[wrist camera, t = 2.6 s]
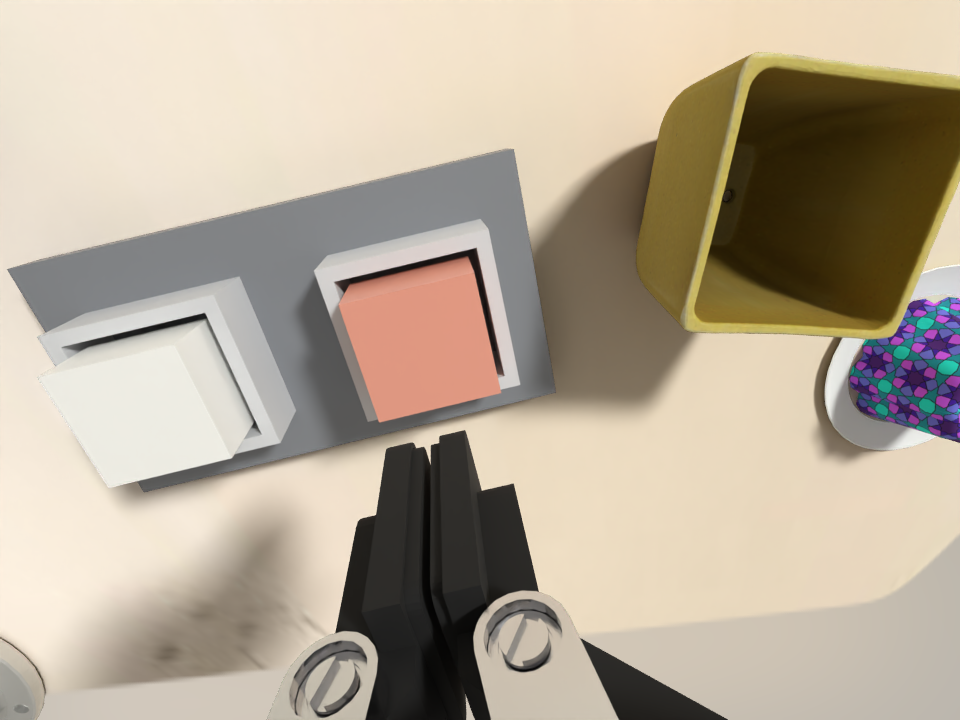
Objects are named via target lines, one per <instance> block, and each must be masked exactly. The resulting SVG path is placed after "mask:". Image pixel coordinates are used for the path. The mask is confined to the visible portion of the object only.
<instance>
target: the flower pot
mask: <svg viewBox="0 0 960 720" xmlns="http://www.w3.org/2000/svg"><path fill="white" fill-rule="evenodd" d="M959 181H960V76H956V75H948V74H939V73H930V72H921V71H912V70H903V69H896V68H889V67H881V66H869V65H862V64H854V63H847V62H840V61H832V60H823V59H818V58H812V57H805V56H798V55H790V54H782V53H766V52H758V53H754V54H751V55H749V56H747V57H745V58H743V59H741V60H739V61H737V62H735V63H733V64H731V65H729V66H727V67H725V68H724V69H721V70H719V71H717V72H716V73H714V74H712V75H710V76H708V77H706V78H704V79H702V80H700V81H698V82H696V83H695V84H693V85H691V86H690V87H688V88H686V89H685V90H684V91H683V92H681V93H680V94H679V95H678V96H677V97H676V99H675V100H674V101H673V102H672V104H671V105H670V107H669V109H668V110H667V112H666V114H665V116H664V119H663V121H662V124H661V127H660V131H659V135H658V140H657V146H656V151H655V157H654V162H653V167H652V172H651V178H650V183H649V188H648V193H647V198H646V203H645V208H644V213H643V218H642V223H641V228H640V233H639V238H638V242H637V250H636V266H637V272H638V275H639V277H640V280H641V281H642V283H643V285H644V286H645V287H646V289H647V290H648V291H649V292H650V293H651V294H652V295H653V296H654V298H655V299H656V300H657V301H658V302H659V303H660V304H661V305H662V306H663V307H664V308H665V309H666V310H667V311H668V312H669V313H670V315H671V316H672V317H673V318H674V319H675V320H676V321H677V322H678V323H679V324H680V325H681V326H682V328H683V329H685V330H686V331H688V332H694V333H749V334H793V335H809V336H826V337H843V338H858V339H882V338H888V337H892V336H893V335H894V334H895V333H896V331H897V329H898V327H899V325H900V323H901V321H902V319H903V317H904V315H905V313H906V310H907V307H908V305H909V302H910V300H911V297H912V295H913V292H914V290H915V287H916V285H917V283H918V281H919V278H920V276H921V273H922V270H923V268H924V265H925V263H926V260H927V258H928V255H929V253H930V250H931V248H932V246H933V244H934V241H935V239H936V237H937V234H938V232H939V229H940V227H941V224H942V222H943V219H944V217H945V214H946V212H947V210H948V207H949V205H950V203H951V201H952V199H953V196H954V194H955V191H956V189H957V186H958V184H959ZM727 190H730V191H731V192H732V198H731V200H730V201H728V202H725V201H724V200H723V198H722V197H723V194H724V192H725V191H727Z"/></svg>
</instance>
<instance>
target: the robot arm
mask: <svg viewBox="0 0 960 720" xmlns="http://www.w3.org/2000/svg"><path fill="white" fill-rule="evenodd" d="M465 694H466V697H467V699H468V702H469V705H470V708H471V711H472V713H473V716H474V718H475V720H728V719H726V718H724V717H722V716H720V715H718V714H716V713H715V712H713V711H711V710H709V709H708V708H706V707H704V706H702V705H700V704H699V703H697V702H695V701H693V700H691V699H690V698H687V697H686V696H684V695H682V694H680V693H678V692H677V691H675V690H673V689H671V688H670V687H668V686H666V685H664V684H662V683H661V682H659V681H657V680H655V679H653V678H651V677H650V676H648V675H646V674H644V673H642V672H641V671H639V670H637V669H635V668H633V667H632V666H629V665H628V664H626V663H624V662H622V661H621V660H619V659H617V658H615V657H614V656H612V655H610V654H608V653H606V652H604V651H602V650H601V649H599V648H597V647H595V646H593V645H592V644H590V643H588V642H586V641H584V640H583V639H581V638H580V637H579V635H578V633H577V631H576V628H575V626H574V624H573V622H572V620H571V618H570V616H569V614H568V613H567V611H566V610H565V609H564V607H563V606H562V604H560V603H559V602H558V601H556V600H555V599H554V598H552V597H551V596H549V595H546V594H543V593H540V592H539V591H538V586H537V582H536V578H535V573H534V569H533V565H532V560H531V556H530V552H529V548H528V543H527V539H526V535H525V530H524V526H523V522H522V518H521V513H520V509H519V505H518V500H517V496H516V492H515V488H514V484H510V485H505V486H501V487H497V488H492V489H488V490H484V491H482V490H481V486H480V483H479V479H478V475H477V471H476V468H475V464H474V460H473V456H472V453H471V449H470V445H469V441H468V438H467V434H466V432H465V430H464V431H459V432H455V433H451V434H446V435H442V436H440V437H439V443H438V444H434V445H431V465H430V462H429V459H428V456H427V452H426V450H425V448H424V447H421V448H416V447H415V445H414V443H413V442H412V443H408V444H403V445H399V446H395V447H390V448H387V449H386V453H385V460H384V467H383V473H382V480H381V487H380V493H379V500H378V506H377V513H376V515H375V516H371V517H367V518H362V519H360V520H359V521H358V524H357V527H356V531H355V536H354V541H353V546H352V551H351V557H350V562H349V567H348V572H347V577H346V582H345V587H344V592H343V597H342V602H341V607H340V612H339V617H338V623H337V628H336V633H334V634H330V635H328V636H326V637H324V638H322V639H320V640H318V641H316V642H315V643H314V644H312V645H311V646H310V647H309V648H307V649H306V650H305V651H303V652H302V653H301V655H300V656H299V657H298V658H297V659H296V660H295V662H294V663H293V664H292V665H291V666H290V668H289V670H288V672H287V674H286V676H285V677H284V679H283V681H282V683H281V686H280V688H279V691H278V693H277V696H276V698H275V700H274V703H273V705H272V708H271V710H270V713H269V715H268V717H267V720H466V697H465ZM44 696H45V692H44V688H43V684H42V680H41V678H40V676H39V675H38V673H37V671H36V669H35V667H34V666H33V665H32V664H31V663H30V662H29V660H28V659H27V658H26V657H25V656H24V655H23V654H22V653H20V652H19V651H18V650H17V649H15V648H14V647H13V646H12V645H10V644H9V643H7V642H5V641H4V640H2V639H0V720H36V719H37V718H38V716H39V714H40V712H41V710H42V708H43V705H44Z"/></svg>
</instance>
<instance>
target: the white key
mask: <svg viewBox="0 0 960 720" xmlns="http://www.w3.org/2000/svg"><path fill="white" fill-rule="evenodd" d="M37 378H38V380H39V381H40V383H41V384H42V386H43V388H44V389H45V391H46V392H47V394H48V395H49V397H50V398H51V400H52V401H53V403H54V405H55V406H56V408H57V409H58V411H59V412H60V414H61V415H62V417H63V418H64V420H65V422H66V423H67V425H68V426H69V428H70V429H71V431H72V432H73V434H74V435H75V437H76V438H77V440H78V442H79V443H80V445H81V446H82V448H83V449H84V451H85V452H86V454H87V455H88V457H89V459H90V460H91V462H92V463H93V465H94V466H95V468H96V469H97V471H98V472H99V474H100V476H101V477H102V479H103V480H104V482H105V483H106V485H107V486H108V488H111V487H115V486H119V485H123V484H128V483H132V482H136V481H140V480H144V479H148V478H152V477H157V476H161V475H165V474H169V473H173V472H177V471H181V470H185V469H190V468H194V467H198V466H202V465H206V464H210V463H214V462H218V461H223V460H227V459H231V458H232V457H233V456H234V454H235V452H236V451H237V449H238V448H239V446H240V444H241V443H242V441H243V439H244V438H245V436H246V435H247V433H248V431H249V430H250V428H251V426H252V425H253V423H254V421H255V419H254V417H253V415H252V413H251V410H250V408H249V406H248V404H247V402H246V400H245V397H244V395H243V393H242V391H241V389H240V387H239V385H238V382H237V380H236V378H235V376H234V374H233V372H232V370H231V367H230V365H229V363H228V361H227V359H226V357H225V355H224V352H223V350H222V348H221V346H220V344H219V342H218V339H217V337H216V335H215V333H214V331H213V329H212V327H211V324H210V322H209V320H208V318H206V319H202V320H197V321H193V322H189V323H185V324H181V325H176V326H172V327H168V328H164V329H160V330H156V331H151V332H147V333H143V334H139V335H135V336H131V337H126V338H122V339H118V340H114V341H110V342H105V343H101V344H97V345H93V346H89V347H87V348H85V349H84V350H82V351H80V352H79V353H77V354H75V355H74V356H72V357H70V358H69V359H67V360H65V361H64V362H62V363H60V364H59V365H57V366H55V367H54V368H52V369H50V370H49V371H47V372H45V373H44V374H42V375H40V376H39V377H37Z"/></svg>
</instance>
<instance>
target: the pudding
mask: <svg viewBox="0 0 960 720" xmlns="http://www.w3.org/2000/svg"><path fill="white" fill-rule="evenodd" d="M937 294H941V295H952V296H956V297H960V265H950V266H944V267H938V268H935V269H931V270H928V271H925V272H922V273H921V276H920V278H919V281H918V283H917V285H916V287H915V290H914V292H913V295H912V297H911V300H910V301H912V300H915V299H918V298H922V297H925V296H930V295H937ZM863 340H864V339H858V338H842V340H841V342H840V344H839V346H838V347H837V349H836V351H835V353H834V355H833V358H832V360H831V363H830V366H829V369H828V372H827V377H826V383H825V405H826V409H827V414H828V417H829V419H830V421H831V423H832V425H833V427H834V428H835V429H836V430H837V431H838V432H839V434H840V435H841V436H842V437H843V438H845V439H846V440H848V441H849V442H851V443H852V444H855V445H858V446H860V447H863V448H866V449H873V450H897V449H903V448H909V447H912V446H915V445H918V444H921V443H925V442H927V441H929V440H931V439H933V438H936V437H941V438H944V439H949V440H952V441H955V442H959V443H960V299H959V298H951V297H947V298H945V299H943V300H941V301H939V302H938V303H936V304H933V303H932V302H930V301H928V300H926V299H922V300H917V301H913V302H911V303H910V304H909V305H908V307H907V310H906V313H905V315H904V317H903V319H902V321H901V323H900V325H899V327H898V329H897V331H896V333H895V334H894V335H893V336H892V337H888V338H882V339H866V340H865V342H864V343H863V357H862V358H861V359H860V360H859V361H858V362H857V363H856V364H855V365H854V366H853V367H852V370H851V374H850V377H849V379H850V387H851V388H853V389H854V390H856V391H857V392H859V394H858V398H857V402H856V404H857V406H858V408H859V410H860V411H861V412H863V413H865V414H867V415H870V416H873V417H876V418H879V419H883V420H886V421H889V422H883V421H877V420H874V419H871V418H868V417H866V416H865V415H863V414H862V413H861V412H859V411H858V409H857V408H856V407H855V406H854V404H853V402H852V400H851V398H850V394H849V390H848V376H849V370H850V366H851V363H852V360H853V358H854V355H855V353H856V351H857V350H858V348H859V346H860V344H861V343H862V341H863Z"/></svg>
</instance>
